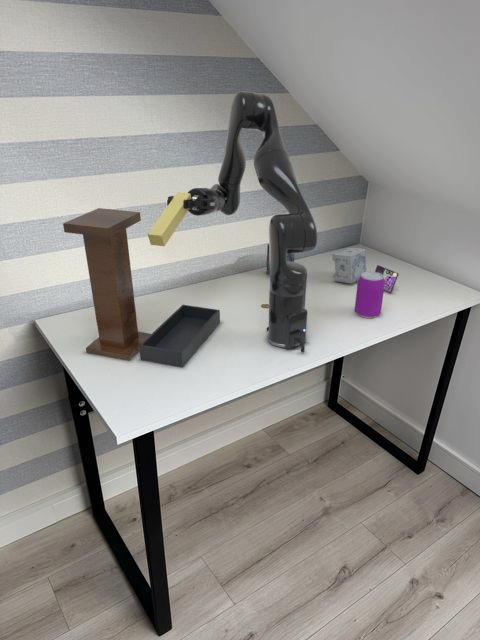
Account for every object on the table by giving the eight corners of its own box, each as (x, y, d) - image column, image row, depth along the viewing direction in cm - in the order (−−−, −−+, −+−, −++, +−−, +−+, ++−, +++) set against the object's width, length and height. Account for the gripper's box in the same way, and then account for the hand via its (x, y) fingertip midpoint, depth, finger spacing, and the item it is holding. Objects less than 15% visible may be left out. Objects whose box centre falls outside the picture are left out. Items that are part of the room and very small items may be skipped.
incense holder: (345, 273, 180) (348, 244, 174) (366, 279, 175) (369, 249, 170) (329, 280, 173) (332, 250, 168) (350, 287, 168) (354, 256, 163)
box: (275, 278, 174) (276, 248, 169) (266, 273, 178) (266, 243, 173) (293, 274, 178) (295, 244, 173) (284, 269, 182) (285, 239, 177)
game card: (376, 264, 168) (396, 273, 162) (385, 266, 171) (406, 275, 165) (368, 284, 170) (389, 293, 164) (378, 285, 173) (398, 294, 167)
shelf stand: (114, 330, 139) (96, 207, 122) (154, 337, 136) (142, 212, 120) (84, 354, 127) (60, 223, 111) (127, 362, 124) (109, 228, 108)
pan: (183, 317, 146) (182, 304, 144) (220, 323, 144) (219, 309, 142) (140, 360, 125) (138, 345, 123) (182, 367, 123) (181, 352, 121)
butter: (179, 202, 139) (177, 192, 137) (192, 203, 138) (190, 193, 136) (150, 244, 127) (147, 234, 125) (164, 246, 126) (161, 235, 124)
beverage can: (377, 321, 146) (382, 282, 141) (351, 316, 149) (355, 277, 143) (383, 311, 153) (388, 273, 147) (357, 306, 155) (362, 268, 149)
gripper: (180, 186, 149) (152, 186, 134) (226, 189, 146) (202, 190, 130) (180, 212, 152) (152, 216, 136) (225, 216, 148) (201, 220, 133)
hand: (177, 203), depth 133 cm, fingers closed on butter, 4 cm apart
